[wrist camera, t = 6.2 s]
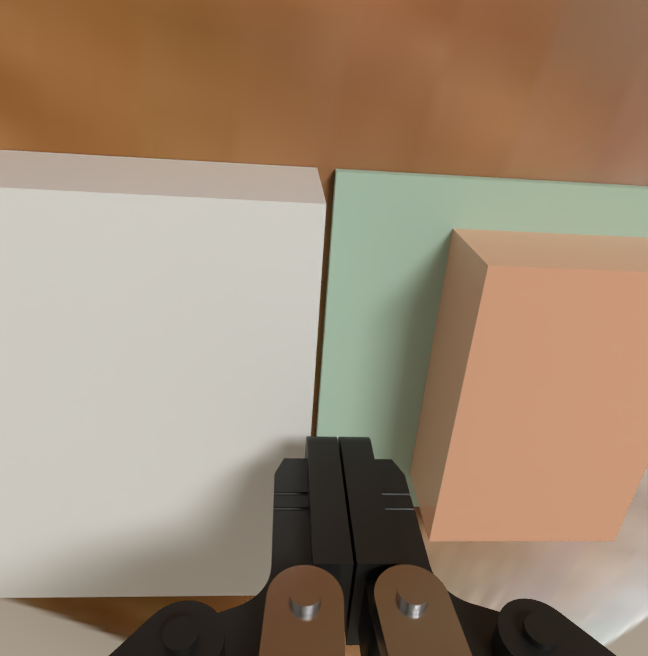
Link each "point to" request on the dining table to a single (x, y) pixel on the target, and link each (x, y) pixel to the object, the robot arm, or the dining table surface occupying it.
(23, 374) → the block
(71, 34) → the dining table surface
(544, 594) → the dining table surface
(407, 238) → the green mat
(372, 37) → the dining table surface
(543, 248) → the terracotta tile
